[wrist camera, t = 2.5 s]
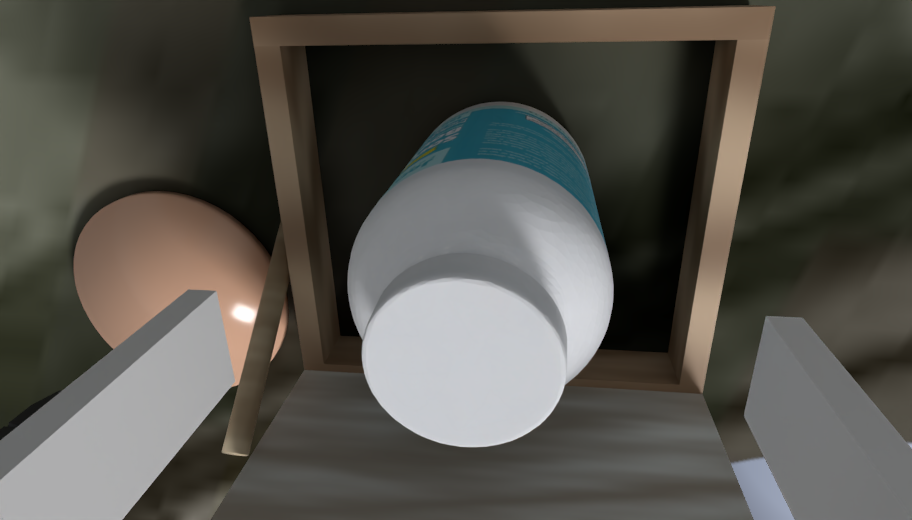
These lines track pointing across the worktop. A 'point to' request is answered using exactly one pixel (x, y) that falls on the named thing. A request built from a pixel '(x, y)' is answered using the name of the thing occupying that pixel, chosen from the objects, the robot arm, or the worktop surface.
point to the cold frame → (584, 397)
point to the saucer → (170, 266)
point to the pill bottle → (482, 278)
